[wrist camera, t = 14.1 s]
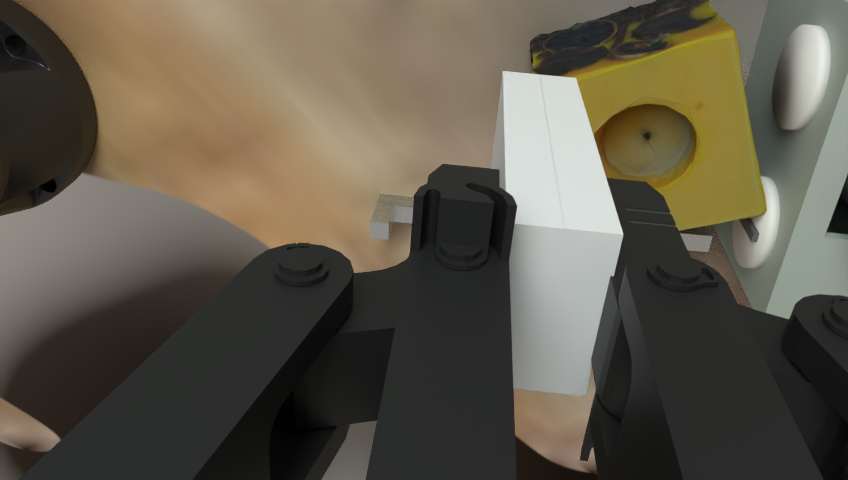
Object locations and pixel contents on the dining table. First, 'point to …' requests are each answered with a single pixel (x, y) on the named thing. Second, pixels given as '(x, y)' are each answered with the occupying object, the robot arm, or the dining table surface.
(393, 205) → the rail track
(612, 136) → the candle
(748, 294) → the gauge cabinet
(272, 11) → the dining table surface
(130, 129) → the dining table surface
